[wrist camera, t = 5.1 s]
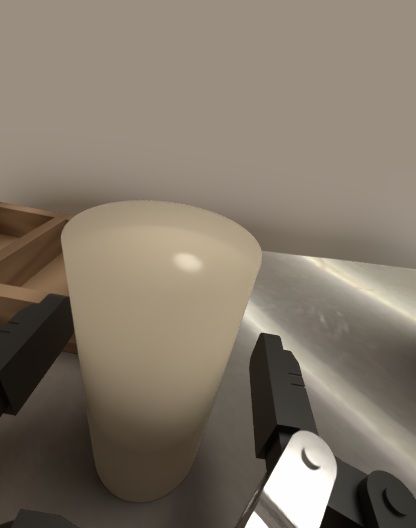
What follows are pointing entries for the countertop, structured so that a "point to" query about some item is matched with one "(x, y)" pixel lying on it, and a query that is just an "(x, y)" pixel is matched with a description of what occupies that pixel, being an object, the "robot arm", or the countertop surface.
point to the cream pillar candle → (154, 332)
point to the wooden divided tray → (31, 260)
